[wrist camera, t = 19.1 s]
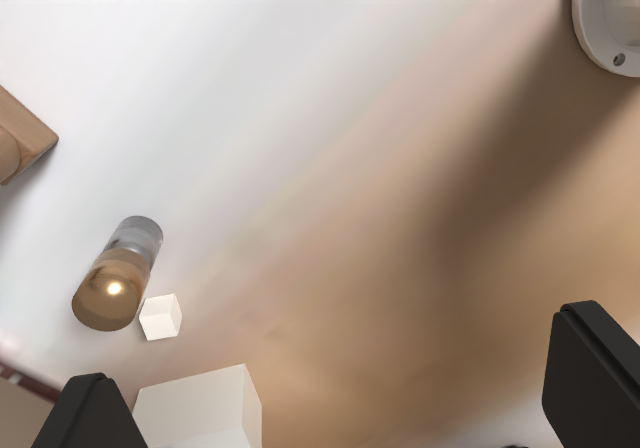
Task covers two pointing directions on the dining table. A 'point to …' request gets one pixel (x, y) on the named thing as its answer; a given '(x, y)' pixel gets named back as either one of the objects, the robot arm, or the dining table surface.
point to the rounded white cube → (160, 317)
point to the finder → (201, 411)
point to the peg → (119, 276)
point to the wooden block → (20, 138)
